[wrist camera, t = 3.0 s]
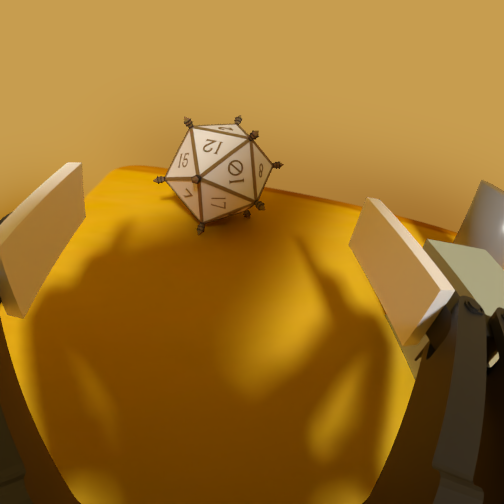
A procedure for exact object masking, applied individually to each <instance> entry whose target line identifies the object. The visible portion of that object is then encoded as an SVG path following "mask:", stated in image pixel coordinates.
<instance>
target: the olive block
mask: <svg viewBox="0 0 504 504" xmlns="http://www.w3.org/2000/svg"><path fill="white" fill-rule="evenodd" d="M423 249H424V251H425V252H426V253H427V254H428V256H429V257H430V258H431V259H432V260H433V261H434V263H435V264H436V265H437V266H438V268H439V270H441V272H442V273H443V274H444V276H445V277H446V278H447V279H448V281H449V282H450V284H451V285H452V286H453V288H454V289H455V290H456V292H457V293H458V294H459V296H468V297H470V298H472V299H474V300H475V301H477V302H478V303H479V305H480V306H481V307H482V308H483V310H484V313H485V315H488V316H492V314H493V313H494V312H495V310H496V309H497V308H499V307H501V308H504V270H503V269H502V267H501V266H500V265H499V264H498V263H497V262H496V261H495V260H494V258H493V257H492V256H491V255H490V254H489V253H488V252H487V251H486V250H484V249H479V248H474V247H469V246H463V245H458V244H453V243H447V242H442V241H436V240H431V239H427V240H426V242H425V244H424V246H423ZM385 316H386V318H387V320H388V322H389V324H390V327H391V329H392V331H393V333H394V335H395V337H396V339H397V341H398V343H399V345H400V347H401V350H402V352H403V354H404V356H405V358H406V360H407V363H408V365H409V367H410V369H411V372H412V374H413V376H414V378H415V380H416V377H417V373H418V370H419V366H420V362H421V358H422V357H421V358H419V359H418V360H417V361H415V360H414V359H415V358H416V356H417V355H418V354H419V353H420V351H421V350H422V349H423V348H424V346H425V345H426V344H427V342H428V341H429V339H428V337H427V335H426V334H425V335H424V336H423V338H422V339H421V340H420V342H419V343H418V344H417V345H409V346H402V344H401V342H400V340H399V338H398V336H397V334H396V332H395V330H394V328H393V326H392V324H391V322H390V320H389V318H388V316H387V314H386V315H385ZM498 359H499V354H498V353H497V354H496V355H495V356H494V358H493V359H492V360H491V361H490V362H489V365H490V367H492V366H493V365H494V364H495V362H496V361H497V360H498Z"/></svg>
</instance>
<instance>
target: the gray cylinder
mask: <svg viewBox="0 0 504 504" xmlns="http://www.w3.org/2000/svg"><path fill="white" fill-rule="evenodd" d="M453 244H458V245H463V246H469V247H474V248H479V249H484V250H486V251H487V252H488V253H489V254H490V255H491V256H492V257H493V258H494V260H495V261H496V262H497V263H498V264H499V265H500V266H501V267H502V269H503V270H504V191H502V190H501V189H499V188H498V187H496V186H494V185H492V184H490V183H488V182H486V181H483V180H481V182H480V185H479V187H478V189H477V192H476V195H475V197H474V199H473V201H472V204H471V206H470V208H469V210H468V213H467V215H466V217H465V219H464V221H463V223H462V225H461V228H460V230H459V232H458V234H457V236H456V238H455V240H454V242H453Z"/></svg>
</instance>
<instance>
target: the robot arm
mask: <svg viewBox="0 0 504 504" xmlns="http://www.w3.org/2000/svg"><path fill="white" fill-rule="evenodd" d="M85 217H86V215H85V204H84V192H83V176H82V163H71V162H68V163H66V164H65V165H64V166H63V167H61V168H60V169H59V170H58V171H57V172H55V173H54V174H53V175H52V176H51V177H50V178H48V179H47V180H46V181H45V182H44V183H43V184H42V185H41V186H40V187H38V188H37V189H36V190H35V191H34V192H33V193H32V194H31V195H30V196H29V197H27V198H26V199H25V200H24V201H23V202H22V203H21V204H20V205H19V206H18V207H17V208H16V209H15V210H14V211H13V212H11V213H10V214H8V215H6V216H5V217H3V218H2V219H1V220H0V304H1V302H2V304H3V306H4V309H5V311H6V313H7V315H11V316H15V317H19V318H23V319H24V317H25V315H26V313H27V312H28V310H29V308H30V306H31V304H32V302H33V300H34V298H35V297H36V295H37V293H38V291H39V289H40V288H41V286H42V284H43V282H44V281H45V279H46V277H47V276H48V274H49V272H50V271H51V269H52V267H53V266H54V264H55V262H56V261H57V259H58V258H59V256H60V254H61V253H62V251H63V250H64V248H65V247H66V245H67V244H68V242H69V241H70V239H71V238H72V236H73V235H74V233H75V232H76V230H77V229H78V227H79V226H80V225H81V223H82V222H83V220H84V219H85ZM349 246H350V248H351V250H352V251H353V253H354V255H355V257H356V258H357V260H358V262H359V264H360V265H361V267H362V269H363V271H364V273H365V274H366V276H367V278H368V280H369V282H370V283H371V285H372V287H373V289H374V291H375V293H376V295H377V297H378V298H379V300H380V302H381V304H382V306H383V308H384V310H385V312H386V314H387V316H388V318H389V320H390V322H391V324H392V326H393V328H394V330H395V332H396V334H397V336H398V338H399V340H400V342H401V344H402V346H409V345H417V344H418V343H419V342H420V340H421V339H422V338H423V336H424V335H425V334H426V335H427V337H428V339H429V341H428V342H427V344H426V345H425V346H424V348H423V349H422V350H421V351H420V353H419V354H418V355H417V356H416V358H415V359H414V360H415V361H417V360H418V359H419V358H421V357H422V358H421V362H420V366H419V370H418V373H417V377H416V380H415V384H414V387H413V390H412V393H411V397H410V400H409V403H408V406H407V409H406V412H405V415H404V417H403V420H402V423H401V426H400V428H399V431H398V434H397V436H396V439H395V441H394V444H393V446H392V449H391V451H390V454H389V456H388V458H387V461H386V463H385V465H384V467H383V470H382V472H381V474H380V476H379V478H378V480H377V482H376V484H375V486H374V488H373V490H372V492H371V494H370V496H369V497H368V498H367V500H366V501H365V502H364V503H362V504H504V308H501V307H499V308H497V309H496V310H495V312H494V313H493V314H492V316H488V315H485V313H484V310H483V308H482V307H481V306H480V305H479V303H478V302H477V301H475V300H474V299H472V298H470V297H468V296H459V294H458V293H457V292H456V290H455V289H454V288H453V286H452V285H451V284H450V282H449V281H448V279H447V278H446V277H445V276H444V274H443V273H442V272H441V270H439V268H438V266H437V265H436V264H435V263H434V261H433V260H432V259H431V258H430V257H429V256H428V254H427V253H426V252H425V251H424V249H423V248H422V247H421V246H420V245H419V243H418V242H417V241H416V240H415V239H414V237H413V236H412V235H411V234H410V233H409V232H408V230H407V229H406V228H405V227H404V226H403V225H402V224H401V222H400V221H399V220H398V219H397V218H396V217H395V216H394V215H393V213H392V212H391V211H390V210H389V209H388V208H387V207H386V206H385V205H384V204H383V203H382V202H381V200H380V199H375V198H370V197H366V200H365V202H364V205H363V208H362V211H361V213H360V216H359V219H358V221H357V224H356V227H355V229H354V232H353V234H352V237H351V240H350V242H349ZM497 353H498V354H499V359H498V361H497V362H496V363H495V364H494V365H493V366H492V367H490V365H489V362H490V361H491V360H492V359H493V358H494V356H495V355H496V354H497ZM0 504H81V503H80V502H79V501H78V500H77V499H76V498H75V497H74V495H73V494H72V492H71V491H70V489H69V488H68V486H67V484H66V483H65V481H64V479H63V478H62V476H61V474H60V473H59V471H58V469H57V467H56V465H55V464H54V462H53V460H52V458H51V456H50V454H49V452H48V450H47V448H46V446H45V444H44V442H43V440H42V438H41V436H40V434H39V432H38V430H37V427H36V425H35V423H34V421H33V418H32V416H31V414H30V411H29V409H28V406H27V404H26V401H25V399H24V396H23V393H22V391H21V388H20V385H19V382H18V379H17V376H16V373H15V370H14V367H13V364H12V360H11V357H10V354H9V350H8V347H7V343H6V339H5V335H4V331H3V327H2V322H1V318H0Z"/></svg>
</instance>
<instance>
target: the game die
mask: <svg viewBox="0 0 504 504" xmlns="http://www.w3.org/2000/svg"><path fill="white" fill-rule="evenodd" d="M184 120H185V121H184V124H186V126H188V127H189V129H188V131H187V133H186V135H185V137H184V139H183V141H182V143H181V145H180V147H179V149H178V151H177V153H176V155H175V157H174V159H173V161H172V163H171V165H170V167H169V169H168V171H167V173H166V175H165V177H158V176H157V178H156V179H155V180H153V181H154V182H156V183H158V184H159V183H162V182H164V181H166V182H167V184H168V185H169V186H170V187H171V188H172V190H173V191H174V192H175V193H176V194H177V196H178V197H179V198H180V199H181V200H182V202H183V203H184V204H185V205H186V206H187V207H188V209H189V210H190V211H191V212H192V213H193V215H194V216H195V217H196V218H197V219H198V220H199V222H200V224H199V225H198V229H197V231H198V235H199V234H201V233H202V232H204V231H203V230H204V224H206V223H209V222H212V221H215V220H219V219H222V218H225V217H228V216H232V215H235V214H238V213H242V212H243V213H244V214H243V215H245V216H244V217H248V218H250V215H251V214H250V212H249V211H248V209H249V208H251V207H252V206H253V205H256V207H257V208H258V209H259V210H265V207H264V203H262V201H258V200H259V198H260V196H261V193H262V191H263V189H264V186H265V184H266V182H267V180H268V177H269V175H270V173H271V170H272V168H276V169H277V168H279V169H280V167H281V166H282V165H283V164H282V163H280V162H275V163H272V162H271V161H270V160H269V159H268V157H267V156H266V155H265V154H264V152H263V151H262V150H261V149H260V147H259V146H258V145H257V144H256V143H255V141H254V139H256V138H257V137H259V136H258V131H252V133H250V135H248V134H247V133H246V132H245V131H244V130H243V129H242V128H241V127H240V126H239V124H240V123H241V121H242V119H241V116H238V117H236V118H235V124H215V125H198V126H193V124H192V121H191V119H189V118H186V117H184Z"/></svg>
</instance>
